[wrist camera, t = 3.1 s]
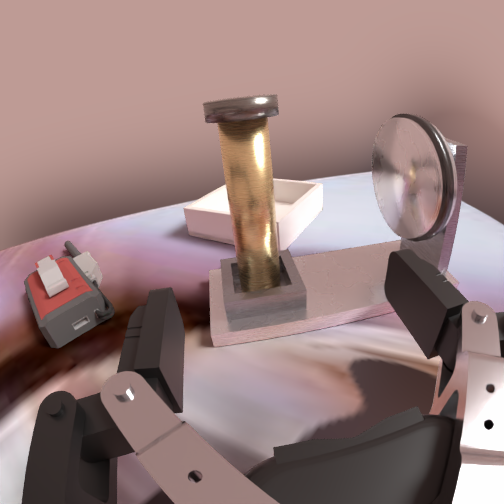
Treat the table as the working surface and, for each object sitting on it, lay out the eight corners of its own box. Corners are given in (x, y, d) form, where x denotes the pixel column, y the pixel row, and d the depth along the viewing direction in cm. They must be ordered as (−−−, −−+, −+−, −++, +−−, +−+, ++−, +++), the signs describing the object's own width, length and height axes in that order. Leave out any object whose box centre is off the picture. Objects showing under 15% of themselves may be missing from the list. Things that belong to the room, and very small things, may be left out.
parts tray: (189, 235, 36) (183, 208, 35) (244, 199, 45) (241, 176, 43) (280, 254, 30) (278, 222, 29) (322, 209, 39) (322, 183, 37)
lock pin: (221, 299, 23) (187, 105, 16) (252, 269, 26) (230, 98, 19) (272, 316, 21) (252, 98, 14) (299, 281, 24) (289, 93, 17)
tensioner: (214, 355, 20) (165, 142, 13) (211, 276, 28) (183, 122, 21) (460, 299, 21) (493, 130, 14) (406, 244, 29) (416, 109, 23)
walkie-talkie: (139, 312, 25) (77, 248, 38) (123, 269, 23) (66, 220, 36) (56, 363, 20) (24, 276, 33) (30, 322, 18) (11, 248, 30)
